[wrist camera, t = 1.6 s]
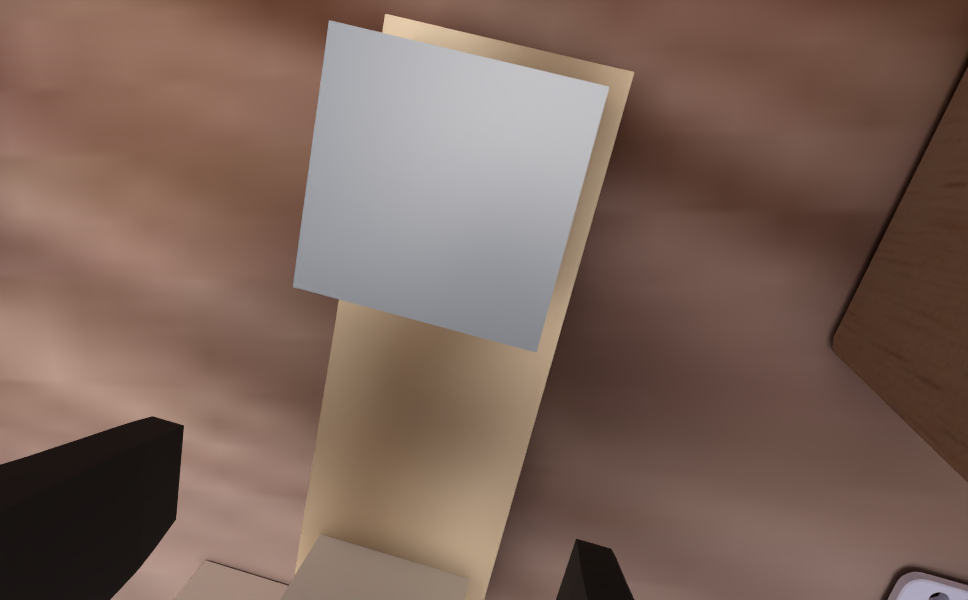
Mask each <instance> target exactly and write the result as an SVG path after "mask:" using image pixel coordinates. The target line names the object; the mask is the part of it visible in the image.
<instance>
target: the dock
mask: <svg viewBox="0 0 968 600" xmlns="http://www.w3.org/2000/svg"><path fill="white" fill-rule="evenodd" d="M287 587H288V585H284V584H281V583H278V582H275V581H271V580H268V579H265V578H262V577H258V576H255V575H252V574H249V573H245V572H242V571H239V570H235V569H232V568H229V567H226V566H222V565H219V564H216V563H213V562H209V561H205V562H204V563H203V565H202V566H201V567H200V568H199V569H198V571H197V572H196V573H195V574H194V575H193V577H192V578H191V579H190V580H189V581H188V583H187V584H186V585H185V586H184V587H183V589H182V590H181V591H180V592H179V593H178V595H177V596H176V597H175V598H174V599H173V600H280V598H281V597H282V595H283V594H284V592H285V590H286V589H287Z"/></svg>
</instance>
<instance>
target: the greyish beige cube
mask: <svg viewBox="0 0 968 600" xmlns="http://www.w3.org/2000/svg"><path fill="white" fill-rule="evenodd" d="M468 583H469V579H468V578H465V577H462V576H458V575H455V574H452V573H448V572H445V571H442V570H438V569H435V568H432V567H428V566H425V565H422V564H418V563H415V562H412V561H408V560H405V559H402V558H398V557H395V556H392V555H388V554H385V553H382V552H378V551H375V550H372V549H368V548H365V547H362V546H358V545H355V544H352V543H348V542H345V541H342V540H338V539H335V538H331V537H328V536H325V535H321V534H320V535H319V537H318V539H317V540H316V542H315V543H314V545H313V547H312V548H311V550H310V552H309V553H308V555H307V556H306V558H305V560H304V561H303V563H302V564H301V566H300V568H299V569H298V571H297V573H296V574H295V576H294V577H293V579H292V581H291V582H290V584H289V586H288V587H287V589H286V590H285V592H284V594H283V595H282V597H281V598H280V600H465V595H466V591H467V587H468Z"/></svg>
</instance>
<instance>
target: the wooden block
mask: <svg viewBox="0 0 968 600" xmlns="http://www.w3.org/2000/svg"><path fill="white" fill-rule="evenodd" d="M832 347H833V351H834V352H835V353H836V354H837V355H838V356H839V357H840V358H841V359H842V360H843V361H844V362H845V363H846V364H847V365H848V366H849V367H850V368H851V369H852V370H853V371H854V372H855V373H856V374H857V375H858V376H859V377H860V378H861V379H862V380H863V381H865V382H866V383H867V384H868V385H869V386H870V387H871V388H872V389H873V390H874V391H875V392H876V393H877V394H878V395H879V396H880V397H881V398H882V399H883V400H884V401H885V402H886V403H887V404H888V405H889V406H890V407H891V408H892V409H893V410H894V411H895V412H896V413H897V414H898V415H899V416H900V417H901V418H902V419H903V420H904V421H905V422H906V423H907V424H908V425H909V426H910V427H911V428H912V429H913V430H914V431H915V432H916V433H917V434H918V435H919V436H921V437H922V438H923V439H924V440H925V441H926V442H927V443H928V444H929V445H930V446H931V447H932V448H933V449H934V450H935V451H936V452H937V453H938V454H939V455H940V456H941V457H942V458H943V459H944V460H945V461H946V462H947V463H948V464H949V465H950V466H951V467H952V468H953V469H954V470H955V471H956V472H958V473H959V474H960V475H961V476H962V477H963V478H964V479H965V480H966V481H967V482H968V67H967V69H966V71H965V73H964V75H963V77H962V79H961V81H960V83H959V85H958V87H957V89H956V91H955V93H954V95H953V97H952V99H951V101H950V103H949V105H948V107H947V109H946V111H945V113H944V115H943V117H942V119H941V121H940V123H939V125H938V127H937V129H936V131H935V133H934V135H933V137H932V139H931V141H930V143H929V145H928V147H927V150H926V152H925V154H924V156H923V158H922V160H921V162H920V164H919V166H918V168H917V170H916V172H915V174H914V176H913V178H912V180H911V182H910V184H909V186H908V188H907V190H906V192H905V194H904V196H903V198H902V200H901V202H900V204H899V206H898V208H897V210H896V212H895V214H894V216H893V218H892V220H891V222H890V224H889V226H888V228H887V230H886V232H885V234H884V236H883V238H882V240H881V242H880V244H879V246H878V248H877V250H876V252H875V254H874V257H873V259H872V261H871V263H870V265H869V267H868V269H867V271H866V273H865V275H864V277H863V279H862V281H861V283H860V285H859V287H858V289H857V291H856V293H855V295H854V297H853V299H852V301H851V303H850V305H849V307H848V309H847V311H846V313H845V315H844V317H843V319H842V321H841V323H840V325H839V327H838V329H837V331H836V333H835V335H834V338H833V345H832Z"/></svg>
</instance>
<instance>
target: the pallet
mask: <svg viewBox="0 0 968 600" xmlns="http://www.w3.org/2000/svg"><path fill="white" fill-rule="evenodd" d="M382 33H385V34H389V35H393V36H397V37H402V38H406V39H410V40H414V41H419V42H423V43H427V44H431V45H436V46H440V47H444V48H448V49H452V50H457V51H461V52H465V53H469V54H474V55H478V56H482V57H486V58H491V59H495V60H499V61H503V62H507V63H512V64H516V65H520V66H524V67H529V68H533V69H537V70H541V71H546V72H550V73H554V74H558V75H562V76H567V77H571V78H575V79H579V80H584V81H588V82H592V83H596V84H601V85H605V86H609V91H608V94H607V98H606V101H605V105H604V109H603V112H602V116H601V120H600V123H599V127H598V131H597V134H596V138H595V141H594V145H593V149H592V152H591V156H590V160H589V163H588V167H587V171H586V174H585V178H584V181H583V185H582V189H581V192H580V196H579V200H578V203H577V207H576V211H575V214H574V218H573V221H572V225H571V229H570V232H569V236H568V240H567V243H566V247H565V251H564V254H563V258H562V261H561V265H560V269H559V272H558V276H557V280H556V283H555V287H554V291H553V294H552V298H551V301H550V305H549V309H548V312H547V316H546V320H545V323H544V327H543V331H542V334H541V338H540V341H539V345H538V349H537V352H532V351H528V350H525V349H521V348H517V347H513V346H510V345H506V344H502V343H499V342H495V341H491V340H488V339H484V338H480V337H476V336H473V335H469V334H465V333H462V332H458V331H454V330H450V329H447V328H443V327H439V326H436V325H432V324H428V323H425V322H421V321H417V320H413V319H410V318H406V317H402V316H399V315H395V314H391V313H388V312H384V311H380V310H376V309H373V308H369V307H365V306H362V305H358V304H354V303H350V302H347V301H343V300H339V303H338V309H337V315H336V321H335V327H334V334H333V340H332V346H331V352H330V358H329V364H328V370H327V377H326V383H325V389H324V395H323V401H322V407H321V414H320V420H319V426H318V432H317V438H316V444H315V451H314V457H313V463H312V469H311V475H310V481H309V488H308V494H307V500H306V506H305V512H304V518H303V525H302V531H301V537H300V543H299V549H298V555H297V561H296V568H295V574H296V573H297V571H298V569H299V568H300V566H301V564H302V563H303V561H304V560H305V558H306V556H307V555H308V553H309V552H310V550H311V548H312V547H313V545H314V543H315V542H316V540H317V539H318V537H319V535H320V534H321V535H325V536H328V537H331V538H335V539H338V540H342V541H345V542H348V543H352V544H355V545H358V546H362V547H365V548H368V549H372V550H375V551H378V552H382V553H385V554H388V555H392V556H395V557H398V558H402V559H405V560H408V561H412V562H415V563H418V564H422V565H425V566H428V567H432V568H435V569H438V570H442V571H445V572H448V573H452V574H455V575H458V576H462V577H465V578H468V579H469V583H468V587H467V591H466V595H465V600H484V598H485V595H486V591H487V588H488V584H489V581H490V577H491V574H492V570H493V567H494V563H495V560H496V556H497V553H498V549H499V546H500V542H501V539H502V535H503V532H504V528H505V525H506V521H507V518H508V514H509V511H510V507H511V504H512V500H513V497H514V493H515V490H516V486H517V483H518V479H519V476H520V472H521V469H522V465H523V462H524V458H525V454H526V451H527V447H528V444H529V440H530V437H531V433H532V430H533V426H534V423H535V419H536V416H537V412H538V409H539V405H540V402H541V398H542V395H543V391H544V388H545V384H546V381H547V377H548V374H549V370H550V367H551V363H552V360H553V356H554V353H555V349H556V346H557V342H558V339H559V335H560V332H561V328H562V325H563V321H564V318H565V314H566V311H567V307H568V304H569V300H570V297H571V293H572V290H573V286H574V282H575V279H576V275H577V272H578V268H579V265H580V261H581V258H582V254H583V251H584V247H585V244H586V240H587V237H588V233H589V230H590V226H591V223H592V219H593V216H594V212H595V209H596V205H597V202H598V198H599V195H600V191H601V188H602V184H603V181H604V177H605V174H606V170H607V167H608V163H609V160H610V156H611V153H612V149H613V146H614V142H615V139H616V135H617V132H618V128H619V125H620V121H621V118H622V114H623V111H624V107H625V103H626V100H627V96H628V93H629V89H630V86H631V82H632V79H633V75H634V72H632V71H627V70H623V69H619V68H615V67H610V66H606V65H602V64H597V63H593V62H589V61H585V60H580V59H576V58H572V57H568V56H563V55H559V54H555V53H550V52H546V51H542V50H538V49H533V48H529V47H525V46H520V45H516V44H512V43H508V42H503V41H499V40H495V39H491V38H486V37H482V36H478V35H473V34H469V33H465V32H461V31H456V30H452V29H448V28H444V27H439V26H435V25H431V24H426V23H422V22H418V21H414V20H409V19H405V18H401V17H397V16H392V15H388V14H385V19H384V25H383V32H382ZM295 574H294V576H295Z"/></svg>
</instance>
